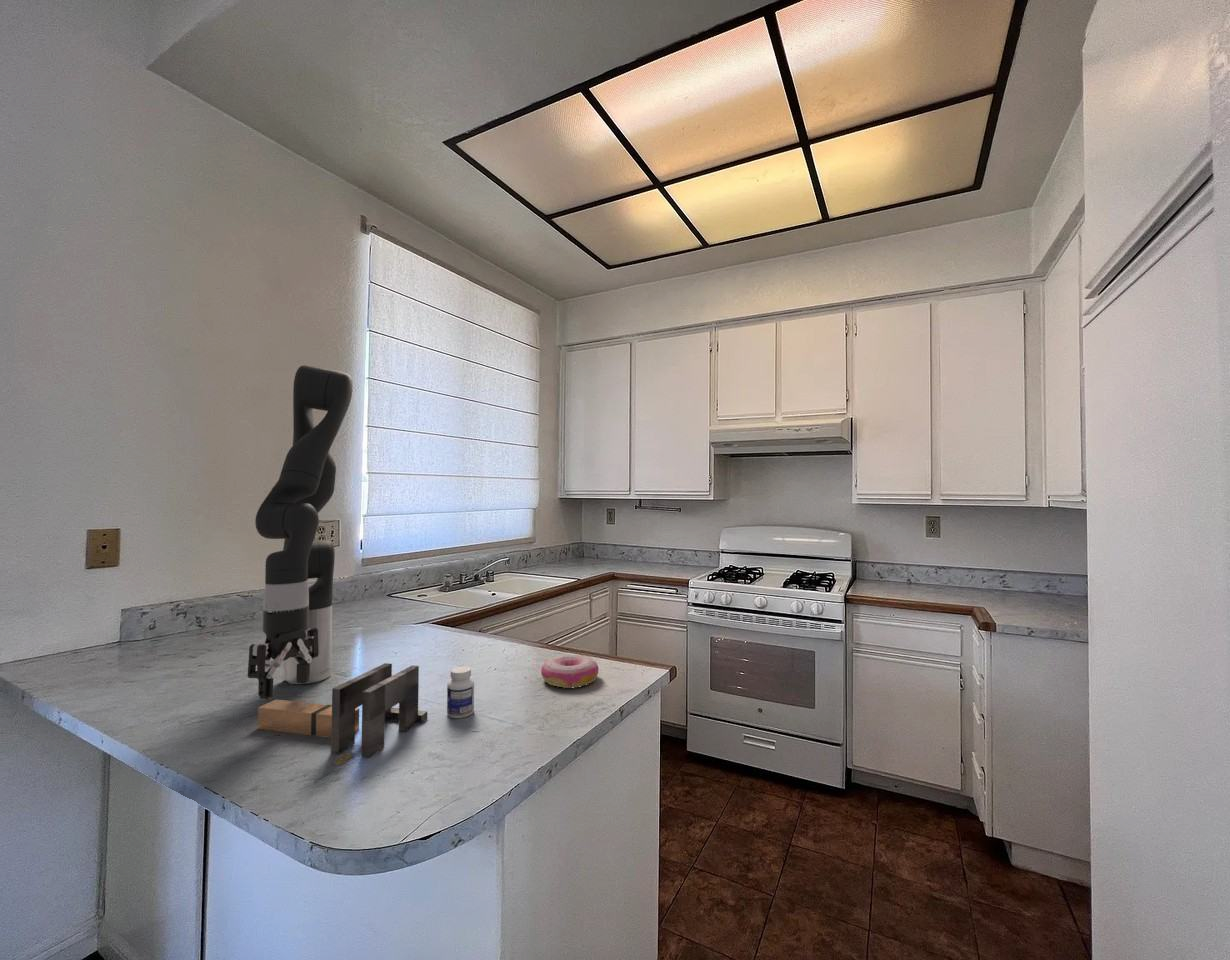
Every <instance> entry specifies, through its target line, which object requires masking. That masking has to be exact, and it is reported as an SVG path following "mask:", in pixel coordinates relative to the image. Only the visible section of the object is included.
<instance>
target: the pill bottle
mask: <svg viewBox="0 0 1230 960" xmlns="http://www.w3.org/2000/svg"><path fill="white" fill-rule="evenodd" d="M471 676H472V668H471V667H470V666H457V667H453V668H451V669H450V680H449V681H448V682H447V688H446V689H447V690H446V691H447V694H446V695H447V696H446V697H447V698H446V714H447V716H448V717H449V718H452V719H463V717H464V718H467V717H469V716H472V714H473V713H474V711H475V681H474V679H473V678H472V677H471Z"/></svg>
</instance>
